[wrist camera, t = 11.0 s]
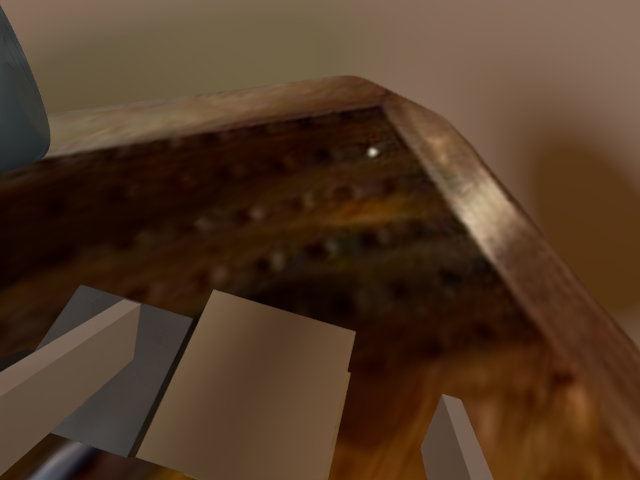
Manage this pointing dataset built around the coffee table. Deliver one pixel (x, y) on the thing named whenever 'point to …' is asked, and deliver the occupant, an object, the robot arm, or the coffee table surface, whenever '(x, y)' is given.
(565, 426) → the coffee table surface
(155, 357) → the bracket
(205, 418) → the block
